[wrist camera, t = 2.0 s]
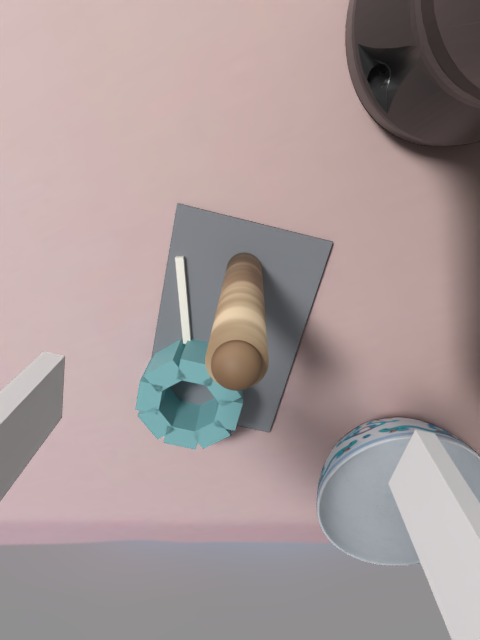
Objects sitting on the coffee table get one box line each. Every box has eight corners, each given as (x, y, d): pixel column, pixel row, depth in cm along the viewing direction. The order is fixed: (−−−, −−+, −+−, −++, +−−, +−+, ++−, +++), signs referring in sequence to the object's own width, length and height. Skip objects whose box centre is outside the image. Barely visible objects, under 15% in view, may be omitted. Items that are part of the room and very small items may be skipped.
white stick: (175, 256, 33) (174, 257, 32) (184, 256, 33) (183, 257, 32) (184, 341, 36) (183, 343, 35) (191, 341, 36) (190, 343, 35)
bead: (156, 330, 35) (144, 350, 32) (251, 352, 36) (251, 374, 32) (142, 409, 39) (131, 436, 35) (230, 428, 39) (227, 456, 36)
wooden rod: (231, 248, 32) (208, 340, 16) (266, 257, 32) (277, 356, 16) (223, 282, 33) (195, 398, 17) (257, 290, 34) (260, 412, 18)
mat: (178, 203, 31) (177, 203, 31) (331, 241, 32) (332, 242, 32) (144, 403, 39) (143, 405, 39) (269, 429, 40) (269, 432, 40)
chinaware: (311, 503, 44) (323, 571, 37) (299, 392, 38) (310, 446, 31) (449, 492, 42) (488, 560, 35) (458, 375, 37) (507, 427, 30)
